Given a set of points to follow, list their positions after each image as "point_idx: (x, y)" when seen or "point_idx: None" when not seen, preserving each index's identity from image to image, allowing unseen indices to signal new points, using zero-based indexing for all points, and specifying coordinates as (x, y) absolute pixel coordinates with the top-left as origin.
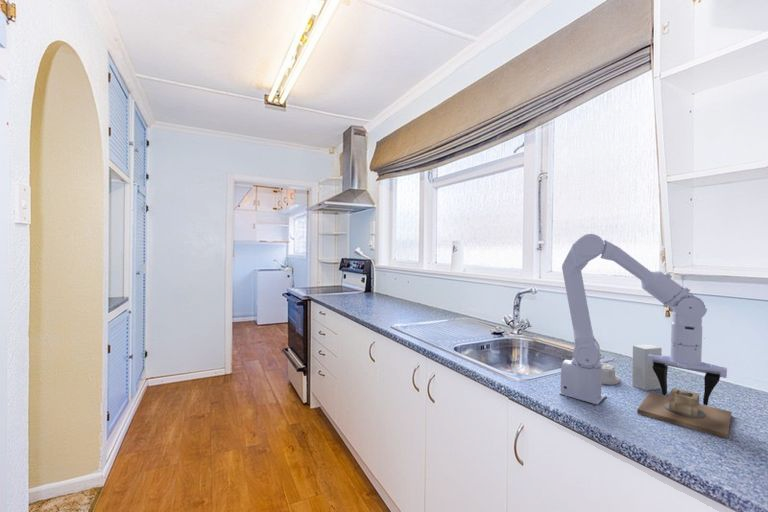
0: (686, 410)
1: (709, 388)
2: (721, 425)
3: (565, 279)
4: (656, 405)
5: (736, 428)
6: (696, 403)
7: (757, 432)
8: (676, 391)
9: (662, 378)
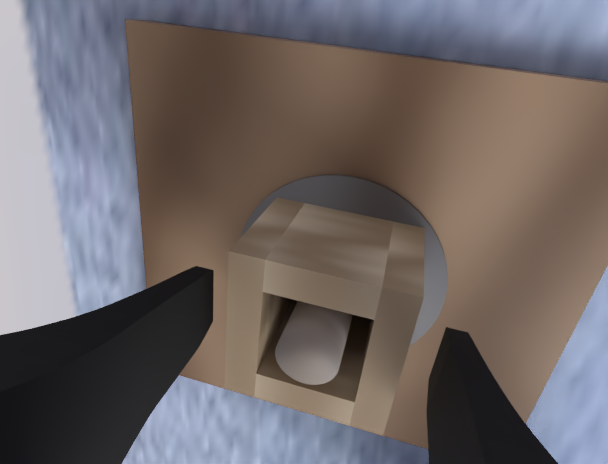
0: (321, 217)
1: (77, 328)
2: (164, 151)
3: None
4: (499, 270)
5: (133, 215)
6: (242, 237)
7: (70, 220)
8: (363, 368)
9: (502, 448)
